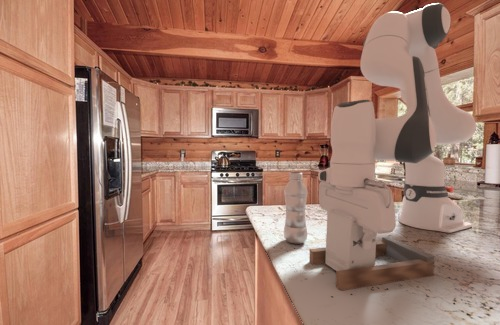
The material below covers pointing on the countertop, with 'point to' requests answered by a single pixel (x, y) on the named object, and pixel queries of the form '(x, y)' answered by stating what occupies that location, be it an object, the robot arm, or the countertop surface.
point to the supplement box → (346, 243)
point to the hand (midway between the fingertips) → (350, 239)
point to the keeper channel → (408, 267)
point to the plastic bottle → (295, 209)
